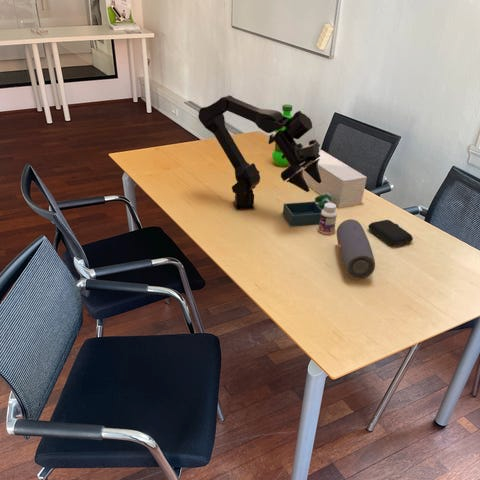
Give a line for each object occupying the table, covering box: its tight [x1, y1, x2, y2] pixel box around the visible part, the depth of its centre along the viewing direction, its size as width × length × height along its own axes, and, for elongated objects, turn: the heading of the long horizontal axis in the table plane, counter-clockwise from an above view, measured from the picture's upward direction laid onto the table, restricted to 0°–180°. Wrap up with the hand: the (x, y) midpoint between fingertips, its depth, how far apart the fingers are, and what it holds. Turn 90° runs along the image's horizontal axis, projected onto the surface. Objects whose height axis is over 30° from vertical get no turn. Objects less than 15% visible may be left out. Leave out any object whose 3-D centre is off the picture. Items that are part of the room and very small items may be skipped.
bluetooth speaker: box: [336, 218, 376, 280], centre depth 144 cm, size 23×9×10 cm, turn 178°
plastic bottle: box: [271, 103, 293, 167], centre depth 205 cm, size 10×10×25 cm
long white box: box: [300, 149, 368, 209], centre depth 188 cm, size 32×11×11 cm, turn 25°
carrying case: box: [367, 219, 414, 247], centre depth 161 cm, size 11×3×15 cm
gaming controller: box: [314, 193, 331, 210], centre depth 179 cm, size 9×4×6 cm
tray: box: [282, 200, 323, 227], centre depth 169 cm, size 12×10×4 cm
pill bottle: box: [318, 203, 338, 235], centre depth 161 cm, size 5×5×10 cm
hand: (314, 187), depth 157 cm, fingers open, 9 cm apart
